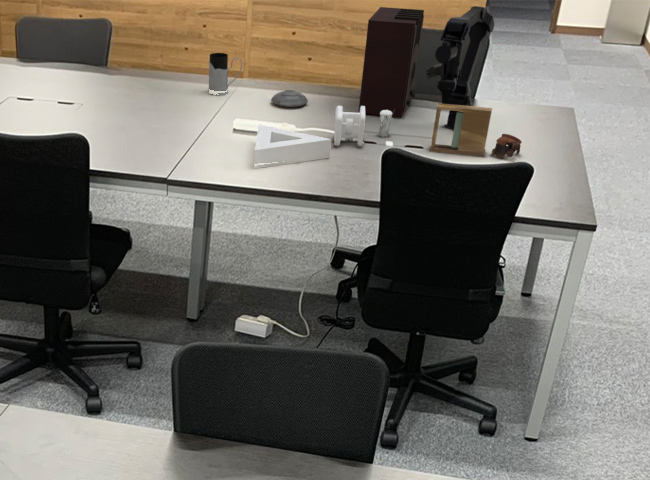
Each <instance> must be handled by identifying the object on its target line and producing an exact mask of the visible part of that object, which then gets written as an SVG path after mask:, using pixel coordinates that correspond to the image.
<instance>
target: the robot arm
mask: <svg viewBox="0 0 650 480" xmlns="http://www.w3.org/2000/svg"><path fill="white" fill-rule="evenodd" d="M494 29H495V19H494V17H493V15H491V13H490V12H488V10H487V8H486V7H484V6H477V5H474V6H471V7H470V9H468V11H466V12H465V13H463V14H462V15H461V16H453V17H450V18H449V19H448V21H447V22H446V24H445V25H444V29H443V31H442V34H441V37H440V42H441V41H442V43H441V44H442V45H440V46H438V47H437V49H435V50H436V51H435V53H434V56H435V59H436V61H437V62H438V63H437V64H434V65H431V66H428V67H427V68H426V69H425V72H426V76H427V77H426V78H427V79H428V80H430V79H432V78H434V77H438V76H439V79H438V81H437V85H436V87H437V89H438V90H439V92H441V103H442V104H453V105H464V106H473V102H472V101H473V100H472V97H471V96H472V90H471V87H470V85H471V82H472V78H473V76H474V72H475V68H476V66H477V62H478V60H479V57H480V54H481V50H482V47H483V45H484V44H485V43H486V42H487V41H488V40H489V39H490V36H491V34H492V32H493V31H494ZM468 35H469V43H468V47H467V50H466V53H465V56H464V58H463V63H462V54H463V50H464V49H463V48H464V42H465V41H466V40H467V38H468ZM461 63H462V65H461ZM460 67H461V68H460ZM448 111H449V112H448V115H447V121H446V124H443V127H445V128H448V129H450V130H451V129H452V130H454V126H455V120H456V114H457V111H452V110H448Z"/></svg>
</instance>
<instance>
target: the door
mask: <svg viewBox="0 0 650 480" xmlns="http://www.w3.org/2000/svg"><path fill="white" fill-rule="evenodd" d="M463 116H464V112H463V111H457V114H456V120H455V126H454V129H453V133H452V139H451V145H450V146H451V147H454V148H458V145H459V139H460V133H461V127H462V122H463Z"/></svg>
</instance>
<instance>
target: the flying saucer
mask: <svg viewBox="0 0 650 480" xmlns="http://www.w3.org/2000/svg"><path fill="white" fill-rule="evenodd" d="M270 101H271V103H272V104H274V105H277V106H280V107H287V108H293V107H294V108H295V107H301V106H304V105H306V104H308V102H309V100H308V98H307V97H306V95H304V94H303V93H301V92H299V91H297V90H296V91H295V90H293V89H286V90H283V91H280V92H279V91H278V92H277V93H276V94H274V95H272V97H271V99H270Z"/></svg>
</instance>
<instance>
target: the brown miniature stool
mask: <svg viewBox="0 0 650 480" xmlns="http://www.w3.org/2000/svg"><path fill="white" fill-rule="evenodd" d="M521 144H522V140H521V139H519V138H518V137H517V136H514V135H512V134H507V133H502V134H501V136H500V137H498V138H497V139H496V143H495V146H494V147H493V148H492V150H491V154H490V155H491V156H494V157H497V158H499V159H502V160H504V158H505V156H507V158H511V157H513V155H514V154H515V155H516V156H517V155H520V152H521Z"/></svg>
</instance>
